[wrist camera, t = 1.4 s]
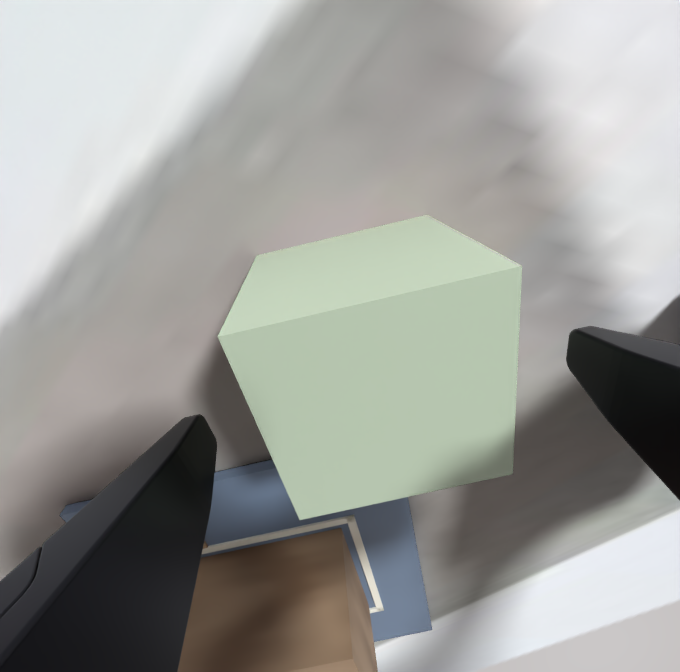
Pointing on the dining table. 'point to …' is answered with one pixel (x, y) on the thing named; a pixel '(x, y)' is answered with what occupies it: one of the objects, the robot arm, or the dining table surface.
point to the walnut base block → (280, 610)
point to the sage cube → (380, 363)
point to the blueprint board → (357, 525)
